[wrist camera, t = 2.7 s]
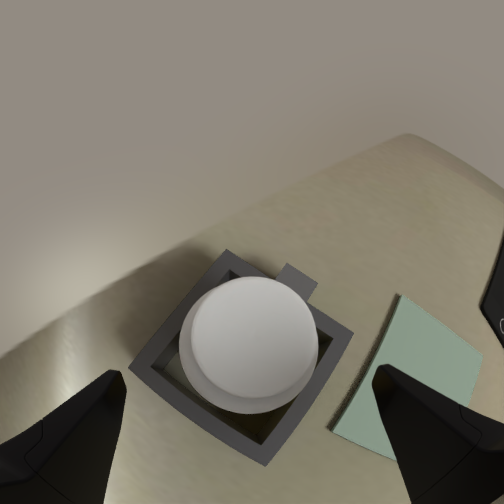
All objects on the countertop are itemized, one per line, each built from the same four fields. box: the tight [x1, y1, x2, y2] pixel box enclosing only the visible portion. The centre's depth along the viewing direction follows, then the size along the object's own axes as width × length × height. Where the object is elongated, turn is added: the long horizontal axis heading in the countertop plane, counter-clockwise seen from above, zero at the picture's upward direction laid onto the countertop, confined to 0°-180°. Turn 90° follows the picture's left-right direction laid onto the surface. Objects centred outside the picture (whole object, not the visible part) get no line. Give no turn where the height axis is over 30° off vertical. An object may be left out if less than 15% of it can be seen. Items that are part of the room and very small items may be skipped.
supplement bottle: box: [179, 277, 318, 414], centre depth 12 cm, size 6×6×10 cm
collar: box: [128, 249, 354, 467], centre depth 16 cm, size 11×10×3 cm
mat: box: [331, 295, 483, 461], centre depth 16 cm, size 12×12×1 cm
